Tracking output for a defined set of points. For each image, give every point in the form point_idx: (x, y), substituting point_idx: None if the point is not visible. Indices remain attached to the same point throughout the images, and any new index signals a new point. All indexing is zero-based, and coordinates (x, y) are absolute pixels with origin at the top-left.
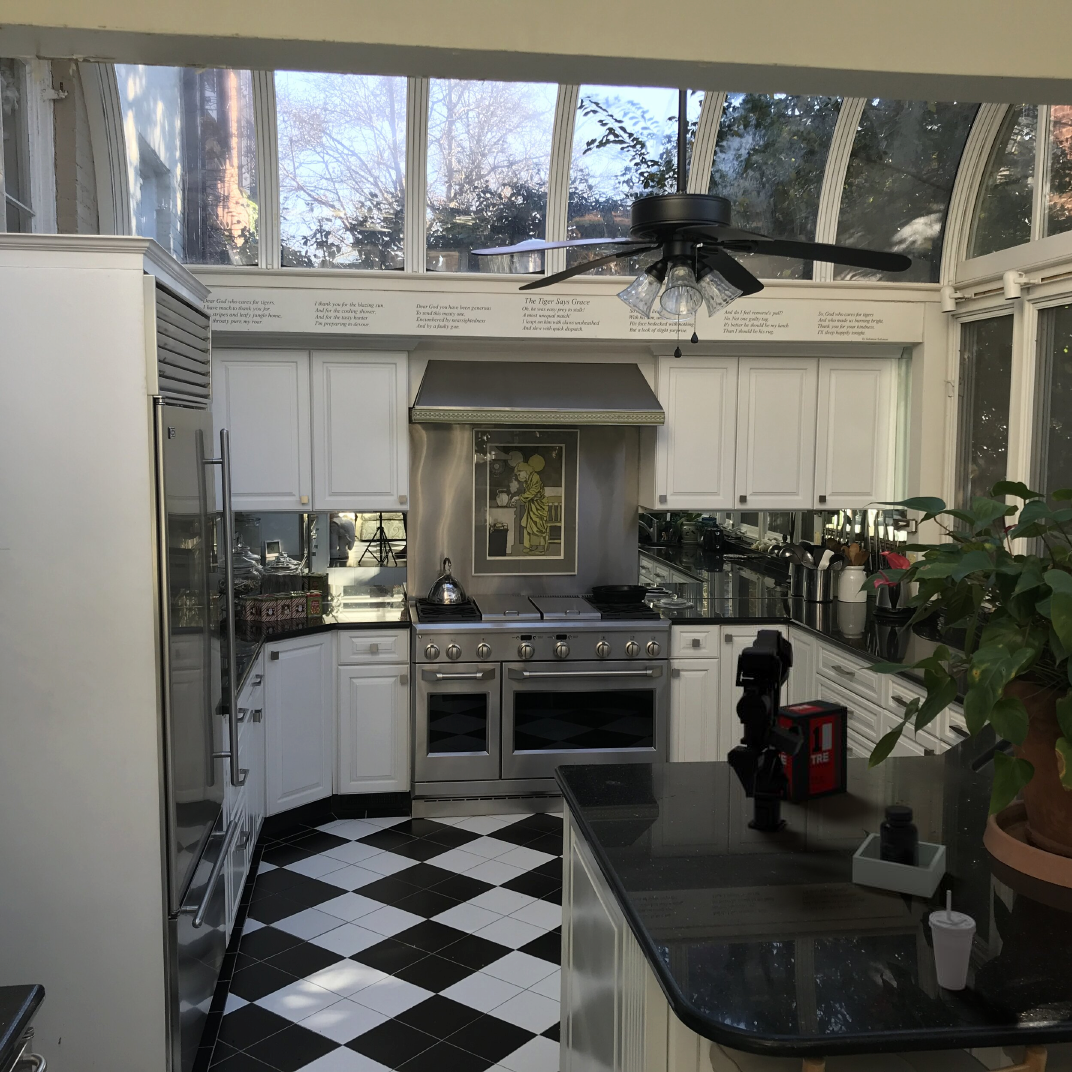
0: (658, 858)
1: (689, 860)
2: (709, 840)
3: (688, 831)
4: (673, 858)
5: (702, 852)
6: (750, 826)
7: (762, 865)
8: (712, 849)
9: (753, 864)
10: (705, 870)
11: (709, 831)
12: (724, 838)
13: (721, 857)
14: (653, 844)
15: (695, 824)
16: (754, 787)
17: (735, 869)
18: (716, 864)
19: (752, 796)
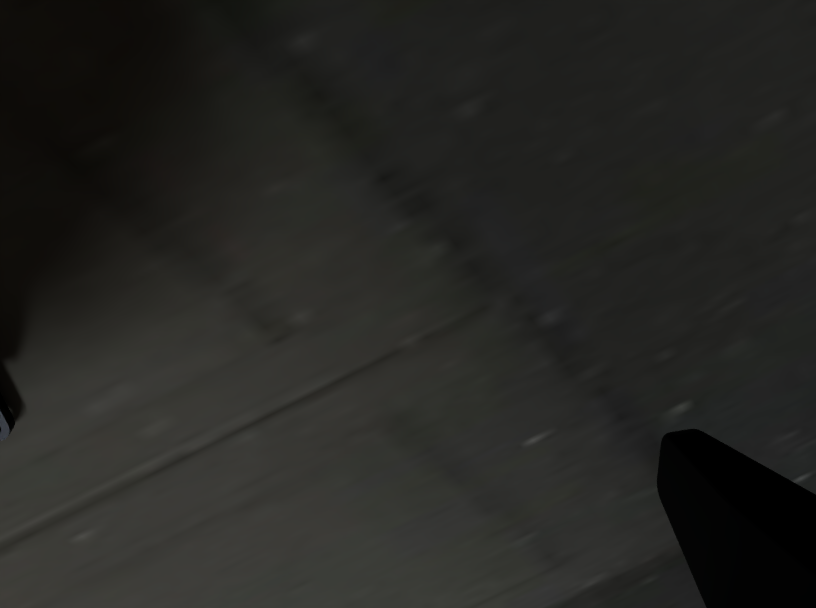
0: None
1: (682, 401)
2: (369, 464)
3: (324, 580)
4: None
5: (549, 409)
6: (9, 412)
7: (565, 39)
8: (481, 394)
9: (577, 100)
10: (782, 279)
11: (250, 523)
12: (288, 427)
13: (565, 305)
14: (569, 590)
15: (214, 605)
16: (804, 531)
17: (706, 155)
18: (677, 276)
19: (703, 434)
